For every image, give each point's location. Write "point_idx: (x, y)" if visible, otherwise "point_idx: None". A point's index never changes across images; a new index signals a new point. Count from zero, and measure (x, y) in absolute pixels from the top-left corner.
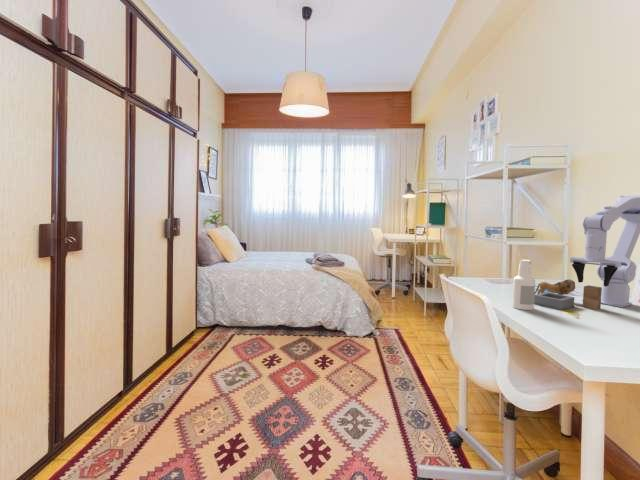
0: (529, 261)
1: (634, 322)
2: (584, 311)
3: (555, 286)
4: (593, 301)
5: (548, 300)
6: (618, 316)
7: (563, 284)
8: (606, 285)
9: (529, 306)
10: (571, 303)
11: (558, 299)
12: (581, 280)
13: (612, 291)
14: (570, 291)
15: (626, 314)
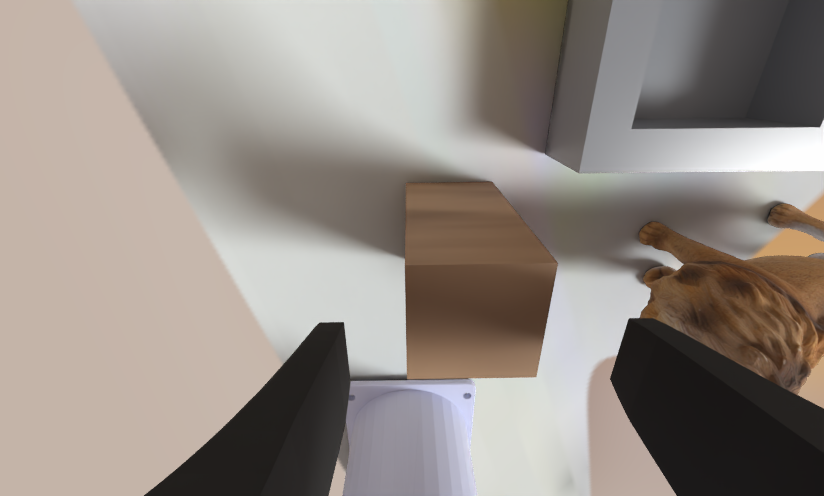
0: None
1: (90, 32)
2: (437, 44)
3: (814, 288)
4: (427, 203)
5: None
6: (240, 128)
7: (770, 316)
8: (311, 334)
9: None
10: (566, 106)
11: None
12: (637, 364)
13: (398, 471)
14: (647, 305)
15: (253, 240)
